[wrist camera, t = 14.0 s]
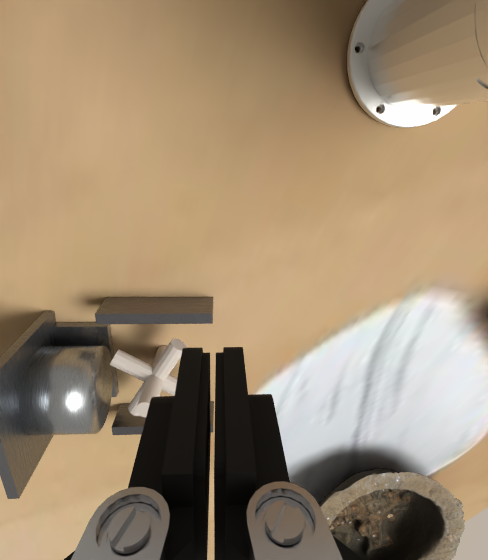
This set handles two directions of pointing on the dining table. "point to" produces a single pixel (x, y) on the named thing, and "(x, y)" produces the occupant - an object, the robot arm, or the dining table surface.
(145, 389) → the pipe connector
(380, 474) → the stone bowl
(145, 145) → the dining table surface
